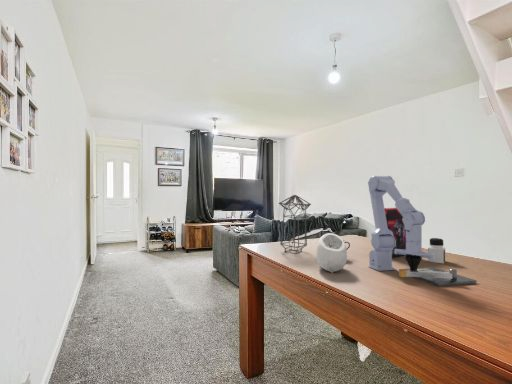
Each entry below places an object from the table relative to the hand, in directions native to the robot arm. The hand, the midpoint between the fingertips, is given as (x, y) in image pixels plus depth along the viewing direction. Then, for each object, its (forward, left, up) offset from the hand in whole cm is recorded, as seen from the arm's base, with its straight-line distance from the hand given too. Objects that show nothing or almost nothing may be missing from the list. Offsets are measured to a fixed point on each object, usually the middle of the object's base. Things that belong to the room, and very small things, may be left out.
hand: (413, 273), depth 118 cm
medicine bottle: (+35, +24, -3) cm, 43 cm away
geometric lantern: (-29, +63, -3) cm, 69 cm away
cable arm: (+3, -4, -1) cm, 5 cm away
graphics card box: (+22, +41, -3) cm, 47 cm away
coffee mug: (-11, +42, -3) cm, 44 cm away
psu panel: (+11, 0, -2) cm, 11 cm away
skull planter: (-26, +23, -3) cm, 34 cm away
